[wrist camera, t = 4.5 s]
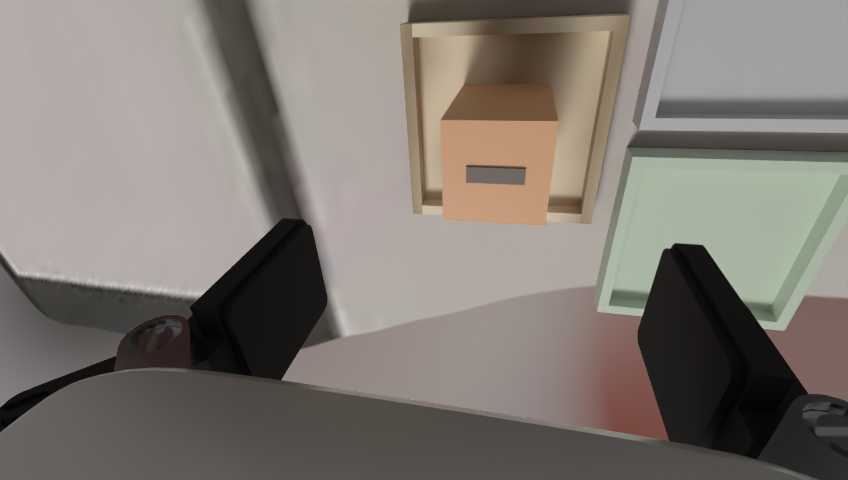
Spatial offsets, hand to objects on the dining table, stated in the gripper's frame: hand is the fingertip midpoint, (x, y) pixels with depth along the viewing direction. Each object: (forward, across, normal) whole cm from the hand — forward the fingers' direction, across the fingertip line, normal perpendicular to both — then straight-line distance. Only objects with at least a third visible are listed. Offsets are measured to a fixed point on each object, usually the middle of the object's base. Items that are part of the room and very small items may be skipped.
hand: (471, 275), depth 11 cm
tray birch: (+14, 0, 0) cm, 15 cm away
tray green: (+14, -12, +6) cm, 20 cm away
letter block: (+14, 0, 0) cm, 14 cm away
